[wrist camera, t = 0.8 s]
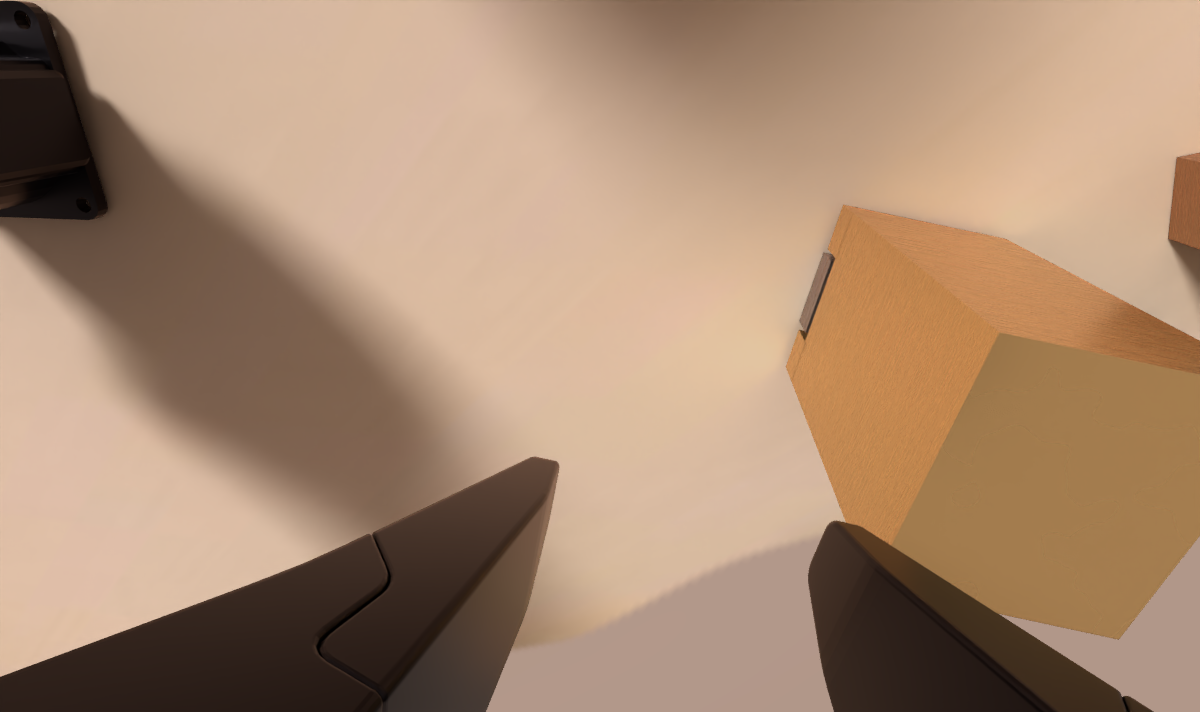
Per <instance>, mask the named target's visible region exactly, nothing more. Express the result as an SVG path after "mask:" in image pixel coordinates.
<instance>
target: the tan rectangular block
mask: <svg viewBox="0 0 1200 712" xmlns="http://www.w3.org/2000/svg"><path fill="white" fill-rule="evenodd" d="M828 250H829V251H830V252H831V253H832V255H833V256H834V257H835V260H834V263H833V266H832V269H831V271H830V274H829V277H828V280H827V282H826V285H825V288H824V291H823V293H822V296H821V299H820V302H819V304H818V307H817V310H816V313H815V315H814V318H813V321H812V324H811V326H810V329H809V332H808V333H805V331H802V330H799V331H798V334H797V337H796V340H795V343H794V345H793V348H792V351H791V354H790V357H789V359H788V362H787V365H786V368H787V371H788V373H789V376H790V379H791V381H792V384H793V386H794V389H795V392H796V394H797V397H798V399H799V402H800V405H801V407H802V410H803V412H804V415H805V418H806V420H807V423H808V425H809V428H810V430H811V433H812V436H813V438H814V441H815V443H816V446H817V449H818V451H819V454H820V456H821V459H822V462H823V464H824V467H825V469H826V472H827V474H828V477H829V480H830V482H831V485H832V487H833V490H834V493H835V495H836V498H837V500H838V503H839V506H840V508H841V511H842V513H843V516H844V518H845V521H846V523H850V524H855V525H858V526H861V527H863V528H865V529H866V530H868V531H869V532H871V533H872V534H874V535H876V536H877V537H879V538H880V539H882V540H883V541H885V542H887V543H888V544H890V545H891V546H893V547H894V548H896V549H897V550H899V551H901V552H902V553H904V554H905V555H907V556H908V557H910V558H912V559H913V560H915V561H916V562H918V563H919V564H921V565H923V566H924V567H926V568H927V569H929V570H930V571H932V572H933V573H935V574H937V575H938V576H940V577H941V578H943V579H944V580H946V581H948V582H949V583H951V584H952V585H954V586H955V587H957V588H958V589H960V590H962V591H963V592H965V593H966V594H968V595H969V596H971V597H973V598H974V599H976V600H977V601H979V602H980V603H982V604H984V605H985V606H987V607H988V608H990V609H991V610H993V611H994V612H996V613H998V614H1002V615H1007V616H1012V617H1016V618H1021V619H1026V620H1030V621H1035V622H1040V623H1044V624H1049V625H1053V626H1058V627H1063V628H1067V629H1072V630H1077V631H1081V632H1086V633H1091V634H1095V635H1100V636H1105V637H1109V638H1114V639H1120V637H1121V636H1122V635H1123V634H1124V632H1125V631H1126V630H1127V628H1128V627H1129V626H1130V625H1131V623H1132V622H1133V621H1134V619H1135V618H1136V617H1137V616H1138V614H1139V613H1140V612H1141V610H1142V609H1143V608H1144V607H1145V605H1146V604H1147V603H1148V601H1149V600H1150V599H1151V597H1152V596H1153V595H1154V594H1155V592H1156V591H1157V590H1158V589H1159V587H1160V586H1161V585H1162V583H1163V582H1164V581H1165V580H1166V578H1167V577H1168V576H1169V575H1170V573H1171V572H1172V571H1173V569H1174V568H1175V567H1176V565H1177V564H1178V563H1179V562H1180V560H1181V559H1182V558H1183V557H1184V555H1185V554H1186V553H1187V551H1188V550H1189V549H1190V548H1191V546H1192V545H1193V544H1194V542H1195V541H1196V540H1197V538H1198V537H1199V536H1200V341H1199V340H1197V339H1195V338H1193V337H1191V336H1189V335H1188V334H1186V333H1184V332H1182V331H1180V330H1178V329H1176V328H1174V327H1172V326H1170V325H1169V324H1167V323H1165V322H1163V321H1161V320H1159V319H1157V318H1155V317H1153V316H1151V315H1149V314H1148V313H1146V312H1144V311H1142V310H1140V309H1138V308H1136V307H1134V306H1132V305H1130V304H1129V303H1127V302H1125V301H1123V300H1121V299H1119V298H1117V297H1115V296H1113V295H1111V294H1110V293H1108V292H1106V291H1104V290H1102V289H1100V288H1098V287H1096V286H1094V285H1092V284H1090V283H1089V282H1087V281H1085V280H1083V279H1081V278H1079V277H1077V276H1075V275H1073V274H1071V273H1070V272H1068V271H1066V270H1064V269H1062V268H1060V267H1058V266H1056V265H1054V264H1052V263H1050V262H1049V261H1047V260H1045V259H1043V258H1041V257H1039V256H1037V255H1035V254H1033V253H1031V252H1030V251H1028V250H1026V249H1024V248H1022V247H1020V246H1018V245H1016V244H1014V243H1012V242H1011V241H1009V240H1007V239H1003V238H999V237H994V236H989V235H984V234H980V233H975V232H970V231H965V230H961V229H956V228H951V227H946V226H942V225H937V224H932V223H927V222H923V221H918V220H913V219H908V218H904V217H899V216H894V215H889V214H885V213H880V212H875V211H870V210H866V209H861V208H856V207H851V206H846V205H843V207H842V210H841V213H840V216H839V219H838V221H837V224H836V227H835V230H834V233H833V236H832V238H831V241H830V244H829V247H828Z"/></svg>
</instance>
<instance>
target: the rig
mask: <svg viewBox="0 0 1200 712" xmlns="http://www.w3.org/2000/svg"><path fill="white" fill-rule="evenodd" d="M1168 239H1171V240H1174V241H1177V242H1180V243H1183V244H1185V245H1188V246H1191V247H1194V248H1197V249H1200V153H1196V154H1191V155H1187V156H1182V157H1177V162H1176V172H1175V181H1174V190H1173V200H1172V209H1171V219H1170V228H1169V238H1168ZM834 260H835V257H834V256H833V255H832V254H828V253H823V256H822V259H821V261H820V264H819V267H818V270H817V273H816V275H815V278H814V281H813V284H812V287H811V290H810V292H809V295H808V298H807V301H806V304H805V307H804V309H803V312H802V315H801V318H800V323H801V325H802V327H803V329H804V331H805V333H808V332H809V329H810V326H811V324H812V321H813V318H814V315H815V313H816V310H817V307H818V304H819V302H820V299H821V296H822V293H823V291H824V288H825V285H826V282H827V280H828V277H829V274H830V271H831V269H832V266H833V263H834Z"/></svg>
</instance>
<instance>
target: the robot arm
mask: <svg viewBox="0 0 1200 712" xmlns="http://www.w3.org/2000/svg"><path fill="white" fill-rule="evenodd" d="M26 15H28V17H29V19H30V22H31V26H29V24H28V23H27V21H26ZM86 200H87V201H89V203H90V205H91V208H90V207H89V206H88V205H87V203H86ZM107 209H108V207H107V202H106V199H105V195H104V192H103V189H102V186H101V183H100V180H99V176H98V173H97V170H96V167H95V164H94V161H93V157H92V154H91V151H90V148H89V145H88V142H87V138H86V135H85V132H84V129H83V126H82V122H81V119H80V116H79V113H78V110H77V107H76V103H75V100H74V97H73V94H72V91H71V88H70V84H69V81H68V78H67V75H66V72H65V69H64V65H63V62H62V59H61V56H60V53H59V50H58V46H57V43H56V40H55V37H54V34H53V31H52V27H51V24H50V21H49V19H48V17H47V15H46V13H45V12H44V11H43V10H42V8H41V7H39V6H38V5H36V4H34V3H30V2H22V1H0V217H23V218H50V219H78V220H91V219H95V218H99V217H102V216H104V215H105V214H106V213H107ZM558 473H559V464H558V462H556V461H553V460H548V459H543V458H539V457H531V458H528V459H526V460H524V461H522V462H520V463H518V464H516V465H514V466H512V467H509V468H507V469H505V470H503V471H501V472H499V473H497V474H495V475H493V476H491V477H489V478H486V479H484V480H482V481H480V482H478V483H476V484H474V485H472V486H470V487H468V488H466V489H463V490H461V491H459V492H457V493H455V494H453V495H451V496H449V497H447V498H445V499H443V500H440V501H438V502H436V503H434V504H432V505H430V506H428V507H426V508H424V509H422V510H420V511H417V512H415V513H413V514H411V515H409V516H407V517H405V518H403V519H401V520H399V521H397V522H394V523H392V524H390V525H388V526H386V527H384V528H382V529H380V530H378V531H376V532H374V533H373V534H372V535H370V534H367V535H365V536H363V537H361V538H358V539H356V540H354V541H352V542H350V543H348V544H346V545H344V546H342V547H339V548H337V549H335V550H333V551H330V552H328V553H326V554H324V555H321V556H319V557H317V558H315V559H312V560H310V561H308V562H306V563H303V564H301V565H298V566H296V567H293V568H290V569H288V570H285V571H283V572H280V573H278V574H275V575H273V576H270V577H268V578H265V579H262V580H260V581H257V582H255V583H252V584H250V585H247V586H244V587H241V588H239V589H236V590H233V591H231V592H228V593H225V594H223V595H220V596H217V597H214V598H212V599H209V600H206V601H204V602H201V603H198V604H196V605H193V606H190V607H188V608H185V609H182V610H179V611H177V612H174V613H171V614H169V615H166V616H163V617H161V618H158V619H155V620H152V621H150V622H147V623H144V624H142V625H139V626H136V627H134V628H131V629H128V630H126V631H123V632H120V633H117V634H115V635H112V636H109V637H107V638H104V639H101V640H99V641H96V642H93V643H90V644H88V645H85V646H82V647H80V648H77V649H74V650H72V651H69V652H66V653H64V654H61V655H58V656H55V657H53V658H50V659H47V660H45V661H42V662H39V663H37V664H34V665H31V666H28V667H26V668H23V669H20V670H18V671H15V672H12V673H10V674H7V675H4V676H2V677H0V712H486V710H487V707H488V705H489V702H490V700H491V697H492V695H493V693H494V690H495V688H496V685H497V683H498V680H499V678H500V675H501V672H502V670H503V668H504V665H505V663H506V660H507V658H508V656H509V653H510V651H511V648H512V646H513V643H514V641H515V638H516V636H517V633H518V631H519V628H520V626H521V623H522V621H523V618H524V615H525V612H526V610H527V607H528V603H529V600H530V596H531V593H532V589H533V584H534V580H535V576H536V572H537V568H538V564H539V560H540V556H541V552H542V548H543V544H544V540H545V535H546V531H547V527H548V523H549V519H550V514H551V509H552V504H553V499H554V494H555V488H556V483H557V478H558ZM808 584H809V590H810V597H811V603H812V609H813V615H814V621H815V628H816V634H817V640H818V646H819V653H820V658H821V663H822V669H823V673H824V677H825V681H826V685H827V689H828V692H829V696H830V699H831V703H832V706H833V710H834V712H1153V711H1152V710H1150V709H1148V708H1147V707H1145V706H1144V705H1142V704H1141V703H1139V702H1138V701H1136V700H1134V699H1133V698H1131V697H1129V696H1124V697H1122V696H1121V694H1120V692H1119V691H1118V690H1116V689H1115V688H1113V687H1112V686H1110V685H1109V684H1107V683H1106V682H1104V681H1102V680H1101V679H1099V678H1098V677H1096V676H1095V675H1093V674H1091V673H1090V672H1088V671H1086V670H1085V669H1084V668H1082V667H1080V666H1079V665H1077V664H1076V663H1074V662H1073V661H1071V660H1069V659H1068V658H1066V657H1065V656H1063V655H1061V654H1060V653H1059V652H1057V651H1055V650H1054V649H1052V648H1051V647H1049V646H1048V645H1046V644H1044V643H1043V642H1041V641H1040V640H1038V639H1037V638H1035V637H1034V636H1032V635H1030V634H1029V633H1027V632H1026V631H1024V630H1023V629H1021V628H1019V627H1018V626H1016V625H1015V624H1013V623H1012V622H1010V621H1009V620H1007V619H1005V618H1004V617H1002V616H1001V615H999V614H998V613H996V612H994V611H993V610H991V609H990V608H988V607H987V606H985V605H984V604H982V603H980V602H979V601H977V600H976V599H974V598H973V597H971V596H969V595H968V594H966V593H965V592H963V591H962V590H960V589H958V588H957V587H955V586H954V585H952V584H951V583H949V582H948V581H946V580H944V579H943V578H941V577H940V576H938V575H937V574H935V573H933V572H932V571H930V570H929V569H927V568H926V567H924V566H923V565H921V564H919V563H918V562H916V561H915V560H913V559H912V558H910V557H908V556H907V555H905V554H904V553H902V552H901V551H899V550H897V549H896V548H894V547H893V546H891V545H890V544H888V543H887V542H885V541H883V540H882V539H880V538H879V537H877V536H876V535H874V534H872V533H871V532H869V531H868V530H866V529H865V528H863V527H861V526H858V525H855V524H850V523H845V522H841V521H832V522H831V523H829V525H828V526H827V527H826V529H825V531H824V534H823V536H822V538H821V540H820V543H819V545H818V547H817V550H816V552H815V554H814V556H813V559H812V561H811V564H810V568H809V573H808Z"/></svg>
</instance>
